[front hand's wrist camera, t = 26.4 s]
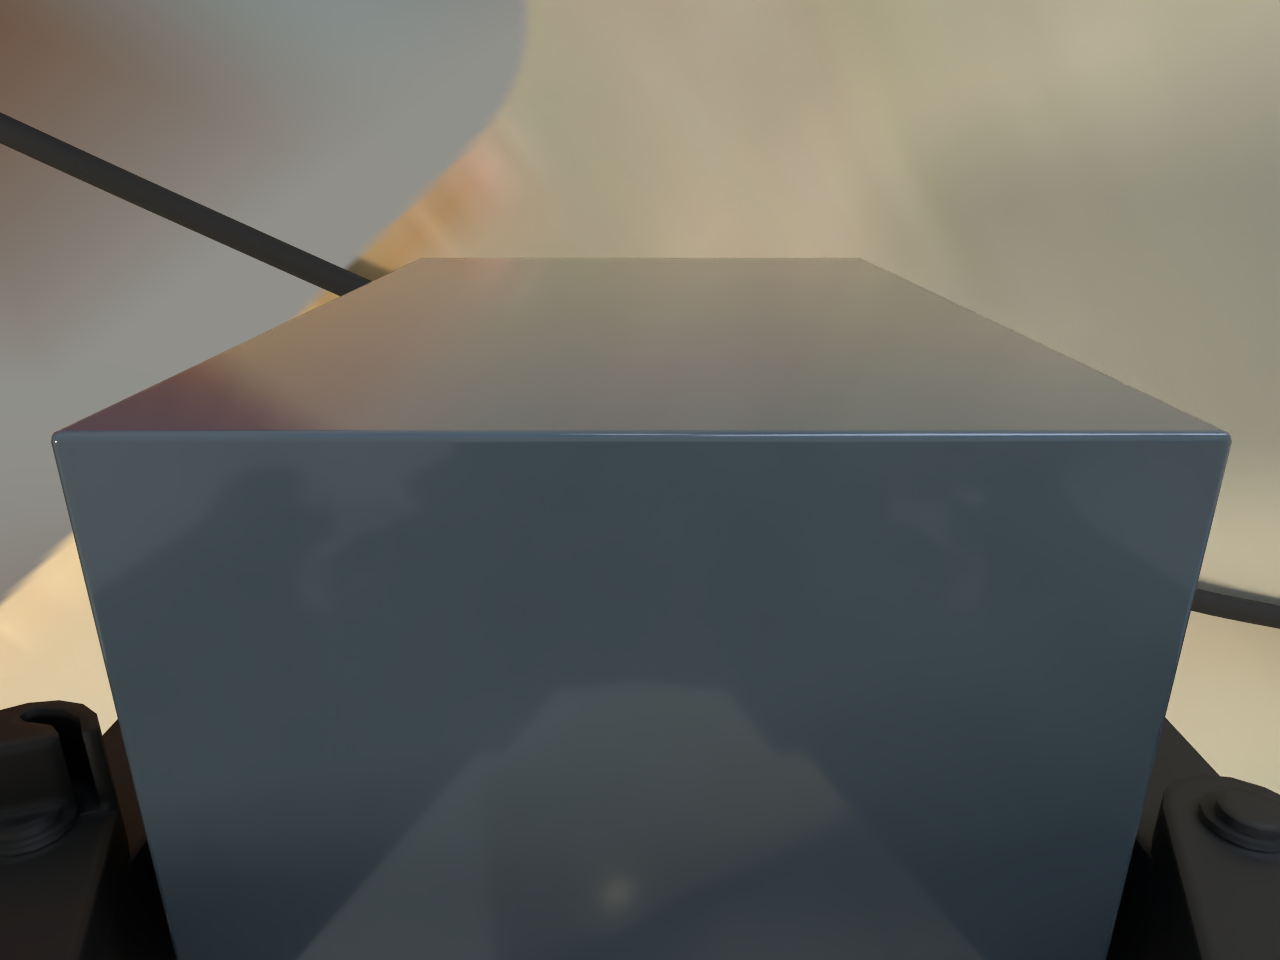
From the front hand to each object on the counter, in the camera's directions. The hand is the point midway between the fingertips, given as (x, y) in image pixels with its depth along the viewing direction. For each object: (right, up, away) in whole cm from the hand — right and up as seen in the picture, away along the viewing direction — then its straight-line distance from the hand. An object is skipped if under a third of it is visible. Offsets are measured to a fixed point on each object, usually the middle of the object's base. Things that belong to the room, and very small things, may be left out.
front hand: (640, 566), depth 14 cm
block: (0, +1, +1) cm, 2 cm away
